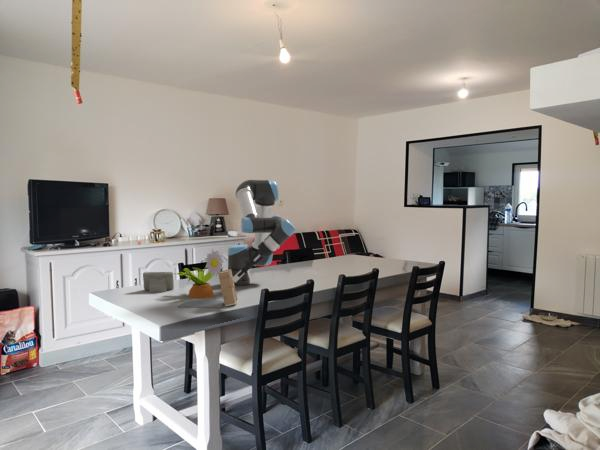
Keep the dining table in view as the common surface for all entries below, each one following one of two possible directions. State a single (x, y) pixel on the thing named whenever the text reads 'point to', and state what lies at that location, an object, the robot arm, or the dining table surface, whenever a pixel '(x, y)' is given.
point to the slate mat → (202, 303)
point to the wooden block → (228, 287)
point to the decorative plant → (200, 285)
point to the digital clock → (158, 281)
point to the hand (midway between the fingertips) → (233, 280)
